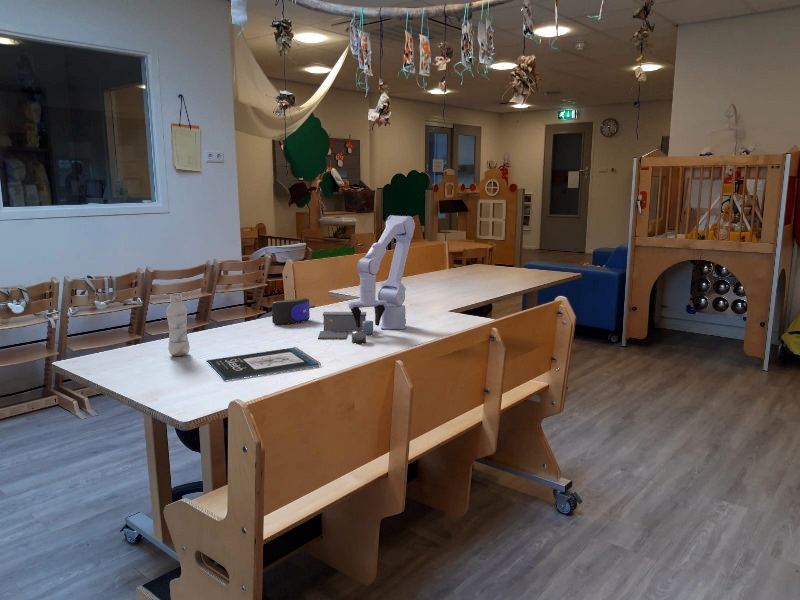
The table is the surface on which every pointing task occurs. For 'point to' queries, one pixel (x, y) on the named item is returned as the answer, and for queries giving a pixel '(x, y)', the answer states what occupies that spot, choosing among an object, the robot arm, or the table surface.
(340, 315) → the block
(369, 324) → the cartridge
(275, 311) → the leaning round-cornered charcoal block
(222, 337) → the table surface
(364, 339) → the cap
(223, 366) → the sketchbook
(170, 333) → the plastic bottle
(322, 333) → the mat
